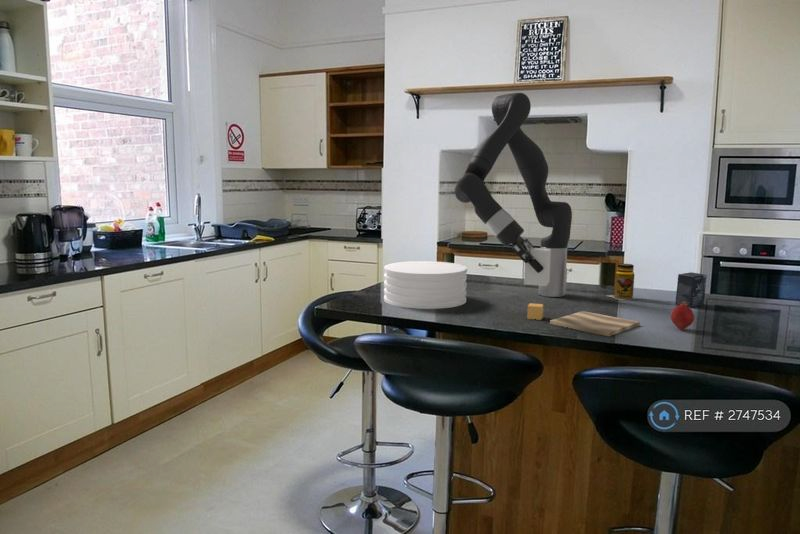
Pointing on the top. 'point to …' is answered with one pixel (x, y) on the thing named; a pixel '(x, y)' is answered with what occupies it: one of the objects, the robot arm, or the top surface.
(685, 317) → the onion
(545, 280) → the light grey rectangular block
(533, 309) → the fully visible block
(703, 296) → the box
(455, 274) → the plate stack
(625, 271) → the condiment
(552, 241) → the robot arm
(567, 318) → the board
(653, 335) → the top surface
